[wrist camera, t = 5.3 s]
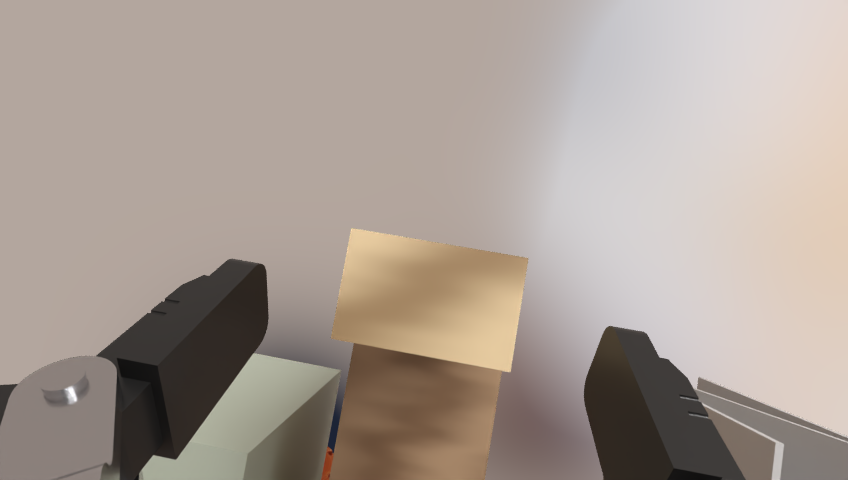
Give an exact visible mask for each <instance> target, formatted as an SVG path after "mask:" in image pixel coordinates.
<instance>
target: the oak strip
mask: <svg viewBox="0 0 848 480" xmlns="http://www.w3.org/2000/svg"><path fill="white" fill-rule="evenodd" d="M527 264H528V258H524V257H519V256H513V255H507V254H501V253H495V252H489V251H483V250H477V249H472V248H466V247H460V246H453V245H448V244H442V243H436V242H430V241H424V240H419V239H413V238H407V237H400V236H395V235H389V234H383V233H377V232H371V231H365V230H360V229H354V228H352V229H351V233H350V238H349V244H348V250H347V255H346V260H345V265H344V271H343V276H342V281H341V287H340V292H339V297H338V303H337V308H336V314H335V319H334V324H333V330H332V335H331V339H336V340H341V341H347V342H352V343H357V344H362V345H368V346H373V347H378V348H384V349H389V350H394V351H400V352H405V353H410V354H416V355H421V356H426V357H432V358H437V359H442V360H448V361H453V362H458V363H464V364H469V365H474V366H480V367H485V368H490V369H496V370H501V371H506V372H510V371H511V365H512V359H513V353H514V347H515V340H516V333H517V327H518V321H519V314H520V308H521V302H522V295H523V289H524V282H525V276H526V269H527Z"/></svg>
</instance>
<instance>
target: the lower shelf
mask: <svg viewBox="0 0 848 480" xmlns="http://www.w3.org/2000/svg"><path fill="white" fill-rule="evenodd" d="M340 374H341V370H337V369H333V368H327V367H322V366H317V365H312V364H307V363H301V362H296V361H291V360H286V359H281V358H275V357H270V356H265V355H260V354H255V353H253V355H252V356H251V357H250V359H249V360H248V362H247V363H246V364H245V366H244V367H243V368H242V370H241V371H240V373H239V374H238V375H237V377H236V378H235V379H234V381H233V382H232V384H231V385H230V386H229V388H228V389H227V390H226V392H225V393H224V395H223V396H222V397H221V399H220V400H219V401H218V403H217V404H216V406H215V407H214V408H213V410H212V411H211V413H210V414H209V415H208V417H207V418H206V419H205V421H204V422H203V424H202V425H201V426H200V428H199V429H198V430H197V432H196V433H195V435H194V436H193V437H192V439H191V440H190V441H189V443H188V444H187V446H186V447H185V448H184V450H183V451H182V452H181V454H180V455H179V457H178V458H177V459H176V460H174V459H169V458H164V457H159V456H155V455H153V456H152V457H151V459H150V460H149V461H148V463H147V464H146V465H145V466H144V468H143V469H142V472H143V478H144V480H321V478H322V472H323V467H324V462H325V456H326V451H327V445H328V440H329V434H330V429H331V423H332V418H333V412H334V407H335V402H336V396H337V391H338V385H339V380H340Z"/></svg>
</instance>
